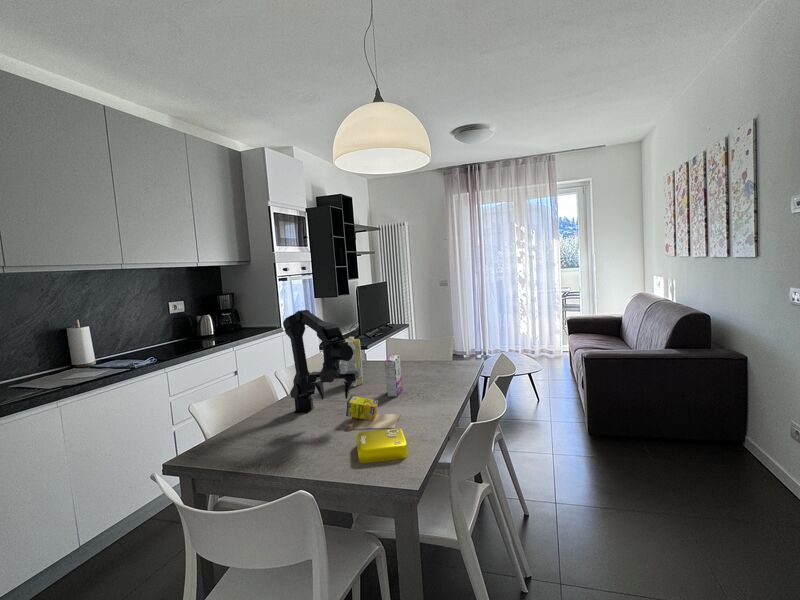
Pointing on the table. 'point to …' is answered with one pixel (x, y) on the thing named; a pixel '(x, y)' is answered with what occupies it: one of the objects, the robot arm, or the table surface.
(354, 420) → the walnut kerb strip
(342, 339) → the robot arm
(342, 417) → the table surface
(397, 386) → the candy bar box
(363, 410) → the supplement box
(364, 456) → the yellow flat block
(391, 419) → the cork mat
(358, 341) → the juice carton
